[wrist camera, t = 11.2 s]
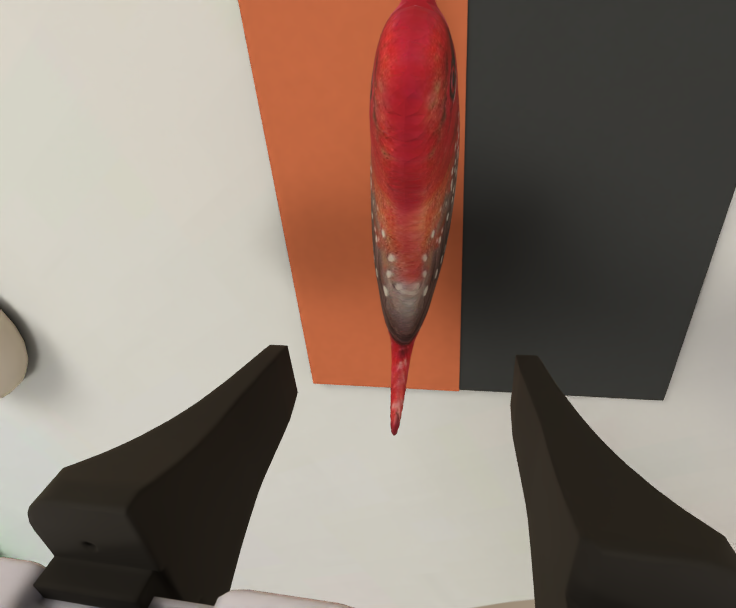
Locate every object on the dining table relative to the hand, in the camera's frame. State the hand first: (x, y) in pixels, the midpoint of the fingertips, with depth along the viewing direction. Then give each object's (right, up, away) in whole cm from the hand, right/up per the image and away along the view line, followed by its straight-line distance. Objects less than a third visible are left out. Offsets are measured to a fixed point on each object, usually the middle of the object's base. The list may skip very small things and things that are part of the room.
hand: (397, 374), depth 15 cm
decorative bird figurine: (+2, +7, +7) cm, 10 cm away
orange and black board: (+5, +7, +7) cm, 11 cm away
